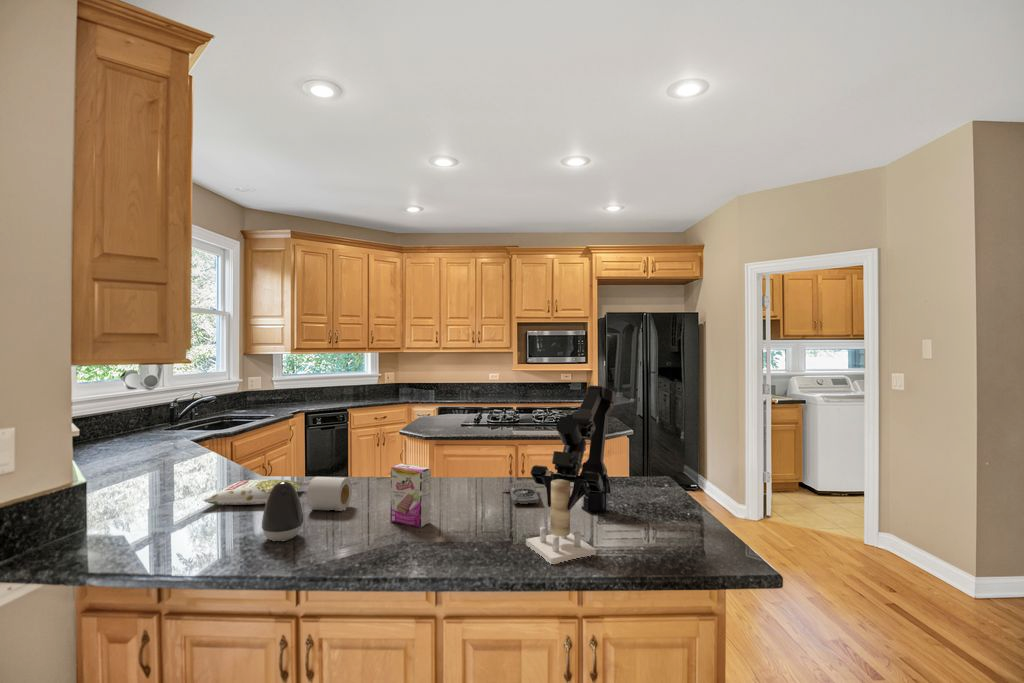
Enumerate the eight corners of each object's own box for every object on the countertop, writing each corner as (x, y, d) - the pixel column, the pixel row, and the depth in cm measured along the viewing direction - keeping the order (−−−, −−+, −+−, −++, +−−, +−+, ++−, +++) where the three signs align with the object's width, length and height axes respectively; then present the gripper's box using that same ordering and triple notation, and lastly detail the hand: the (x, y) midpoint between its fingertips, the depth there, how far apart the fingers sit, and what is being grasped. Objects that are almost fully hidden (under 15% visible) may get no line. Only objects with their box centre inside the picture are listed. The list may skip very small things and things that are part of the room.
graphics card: (501, 483, 178) (535, 481, 179) (502, 493, 178) (535, 492, 179) (504, 498, 161) (541, 497, 162) (504, 510, 161) (541, 508, 162)
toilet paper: (351, 505, 162) (351, 474, 162) (337, 515, 152) (338, 482, 152) (322, 503, 163) (322, 473, 163) (306, 514, 153) (306, 481, 153)
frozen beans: (284, 490, 158) (200, 491, 155) (283, 509, 157) (200, 510, 155) (305, 475, 178) (231, 476, 176) (304, 491, 178) (231, 492, 176)
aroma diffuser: (261, 548, 128) (262, 489, 128) (261, 534, 137) (261, 479, 137) (304, 541, 132) (305, 484, 132) (301, 528, 142) (301, 474, 142)
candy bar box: (389, 522, 147) (389, 466, 147) (399, 517, 152) (400, 463, 152) (420, 528, 142) (421, 471, 142) (430, 523, 147) (431, 467, 147)
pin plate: (567, 536, 137) (568, 518, 137) (595, 555, 126) (595, 535, 126) (525, 544, 132) (526, 525, 132) (551, 564, 120) (551, 544, 120)
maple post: (555, 527, 132) (556, 478, 132) (573, 531, 130) (573, 481, 129) (547, 533, 128) (547, 482, 128) (564, 537, 125) (565, 486, 125)
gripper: (533, 435, 136) (516, 486, 126) (600, 441, 128) (587, 497, 118) (543, 458, 143) (528, 508, 133) (607, 465, 135) (596, 519, 125)
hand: (558, 507), depth 127 cm, fingers closed on maple post, 5 cm apart
